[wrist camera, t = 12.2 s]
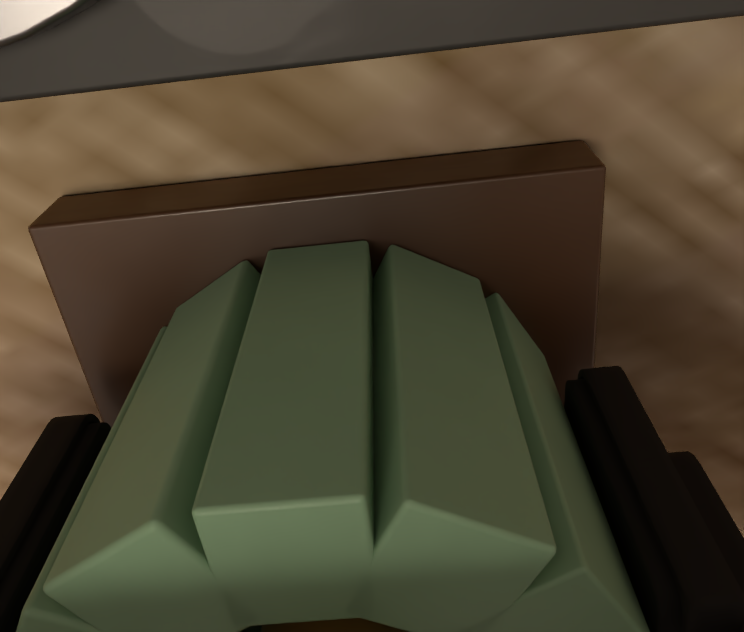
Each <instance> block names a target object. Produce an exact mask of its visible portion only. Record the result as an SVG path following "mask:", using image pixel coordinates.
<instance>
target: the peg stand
mask: <svg viewBox="0 0 744 632" xmlns="http://www.w3.org/2000/svg"><path fill="white" fill-rule="evenodd" d="M605 174H606V167H605V165H604V164H603V163H602V161H601V160H600V159H599V158H598V157H597V156H596V155H595V154H594V153H593V151H592V150H591V149H590V148H589V147H588V146H587V145H586V144H585V142H584V141H573V142H563V143H554V144H545V145H536V146H527V147H517V148H508V149H499V150H490V151H480V152H471V153H462V154H453V155H444V156H434V157H425V158H416V159H407V160H398V161H388V162H379V163H370V164H361V165H352V166H342V167H333V168H324V169H315V170H305V171H296V172H287V173H278V174H269V175H259V176H250V177H241V178H232V179H223V180H213V181H204V182H195V183H186V184H177V185H167V186H158V187H149V188H140V189H131V190H121V191H112V192H103V193H94V194H84V195H75V196H66V197H60V198H58V199H57V200H56V201H55V202H54V203H53V204H52V205H51V206H50V207H49V208H48V209H47V210H46V211H45V212H43V213H42V214H41V215H40V216H39V217H38V218H37V219H36V220H35V221H34V222H33V223H32V224H31V225H30V226H29V228H28V229H29V233H30V235H31V238H32V241H33V243H34V246H35V248H36V251H37V253H38V256H39V259H40V261H41V264H42V266H43V269H44V271H45V274H46V277H47V279H48V282H49V284H50V287H51V290H52V292H53V295H54V297H55V300H56V302H57V305H58V308H59V310H60V313H61V315H62V318H63V321H64V323H65V326H66V328H67V331H68V333H69V336H70V339H71V341H72V344H73V346H74V349H75V352H76V354H77V357H78V359H79V362H80V364H81V367H82V370H83V372H84V375H85V377H86V380H87V382H88V385H89V388H90V390H91V393H92V395H93V398H94V401H95V403H96V406H97V408H98V411H99V413H100V416H101V419H102V421H103V422H106V423H108V424H109V425H110V427H111V428H112V426H113V424H114V422H115V420H116V418H117V416H118V414H119V412H120V410H121V408H122V406H123V404H124V402H125V400H126V398H127V396H128V394H129V392H130V390H131V388H132V386H133V384H134V382H135V380H136V378H137V376H138V374H139V372H140V370H141V368H142V366H143V364H144V362H145V360H146V358H147V356H148V353H149V351H150V349H151V347H152V345H153V343H154V341H155V339H156V337H157V335H158V333H159V331H160V329H162V328H163V327H164V326H166V327H168V325H169V323H170V320H171V318H172V316H173V314H174V312H175V310H176V308H177V307H179V306H180V305H182V304H183V303H185V302H186V301H187V300H189V299H190V298H192V297H193V296H194V295H196V294H197V293H199V292H200V291H201V290H203V289H204V288H206V287H207V286H208V285H210V284H211V283H213V282H214V281H215V280H217V279H218V278H220V277H221V276H222V275H224V274H225V273H227V272H228V271H229V270H231V269H232V268H234V267H235V266H236V265H238V264H239V263H241V262H242V261H246V260H247V261H248V262H250V263H251V265H252V266H253V267H254V268H255V269H256V270H257V271H258V272H259V273H260V274H262V270H263V267H264V263H265V260H266V257H267V253H268V251H270V250H277V249H286V248H296V247H306V246H316V245H325V244H335V243H345V242H355V241H367V243H368V244H369V252H370V260H371V268H372V276H373V278H374V276H375V274H376V272H377V270H378V268H379V266H380V264H381V262H382V260H383V258H384V256H385V253H386V251H387V249H388V247H389V246H390V245H396V246H398V247H401V248H403V249H406V250H408V251H411V252H413V253H416V254H418V255H421V256H423V257H425V258H428V259H430V260H433V261H435V262H438V263H440V264H443V265H445V266H448V267H450V268H453V269H455V270H458V271H460V272H463V273H465V274H468V275H470V276H473V277H475V278H478V279H479V280H480V284H481V287H482V291H483V294H484V297H485V298H487V297H489V296H490V295H492V294H494V293H498V294H499V295H500V296H501V298H502V299H503V300H504V302H505V303H506V304H507V306H508V307H509V308H510V310H511V311H512V313H513V314H514V315H515V317H516V318H517V319H518V321H519V322H520V323H521V325H522V326H523V328H524V329H525V330H526V332H527V333H528V334H529V336H530V337H531V338H532V340H533V341H534V343H535V344H536V345H537V347H538V348H539V349H540V351H541V352H542V353H543V355H544V357H545V359H546V362H547V365H548V367H549V370H550V372H551V375H552V378H553V380H554V383H555V385H556V388H557V391H558V393H559V396H560V398H561V401H562V404H563V406H564V402H565V384H566V381H567V380H577V378H578V373H579V370H581V369H589V368H594V361H595V344H596V327H597V310H598V293H599V276H600V259H601V242H602V225H603V208H604V191H605ZM261 632H408V631H405V630H401V629H397V628H394V627H390V626H387V625H383V624H380V623H376V622H372V621H369V620H365V619H362V618H351V619H338V620H324V621H310V622H297V623H283V624H269V625H262V627H261Z"/></svg>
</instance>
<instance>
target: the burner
mask: <svg viewBox="0 0 744 632" xmlns="http://www.w3.org/2000/svg"><path fill="white" fill-rule="evenodd" d="M98 1H99V0H0V48H1V47H4V46H7V45H9V44H12V43H15V42H17V41H20V40H23V39H26V38H28V37H31V36H34V35H36V34H39V33H41V32H44V31H46V30H49V29H51V28H53V27H54V26H56V25H58V24H60V23H62V22H63V21H65V20H67V19H69V18H71V17H72V16H74V15H76V14H78V13H79V12H81V11H83V10H85V9H87V8H88V7H90V6H92V5H94V4H95V3H96V2H98Z"/></svg>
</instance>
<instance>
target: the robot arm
mask: <svg viewBox="0 0 744 632" xmlns="http://www.w3.org/2000/svg"><path fill="white" fill-rule="evenodd" d="M564 409H565V411H566V414H567V417H568V419H569V422H570V424H571V427H572V430H573V432H574V435H575V438H576V440H577V443H578V445H579V448H580V451H581V453H582V456H583V458H584V461H585V464H586V466H587V469H588V471H589V474H590V477H591V479H592V482H593V484H594V487H595V490H596V492H597V495H598V498H599V500H600V503H601V505H602V508H603V511H604V513H605V516H606V518H607V521H608V524H609V526H610V529H611V531H612V534H613V537H614V539H615V542H616V544H617V547H618V550H619V552H620V555H621V557H622V560H623V563H624V565H625V568H626V571H627V573H628V576H629V578H630V581H631V584H632V586H633V589H634V591H635V594H636V597H637V599H638V602H639V604H640V607H641V610H642V612H643V615H644V617H645V620H646V623H647V625H648V628H649V631H650V632H744V538H743V536H742V534H741V533H740V531H739V529H738V528H737V526H736V524H735V522H734V521H733V519H732V517H731V516H730V514H729V512H728V510H727V509H726V507H725V505H724V504H723V502H722V500H721V499H720V497H719V495H718V493H717V492H716V490H715V488H714V487H713V485H712V483H711V481H710V480H709V478H708V476H707V475H706V473H705V471H704V470H703V468H702V466H701V464H700V463H699V461H698V460H697V459H696V457H695V456H694V455H693V454H691V453H690V452H688V451H686V452H674V453H667V451H666V449H665V447H664V445H663V443H662V441H661V440H660V438H659V436H658V434H657V432H656V430H655V428H654V427H653V425H652V423H651V421H650V419H649V417H648V415H647V414H646V412H645V410H644V408H643V406H642V404H641V402H640V401H639V399H638V397H637V395H636V393H635V391H634V389H633V388H632V386H631V384H630V382H629V380H628V378H627V377H626V375H625V373H624V371H623V370H622V368H621V367H619V366H611V367H600V368H589V369H581V370H579V373H578V378H577V380H567V381H566V384H565V402H564ZM110 431H111V427H110V425H109V424H108V423H106V422H102V423H100V421H99V419H98V418H97V417H96V416H95V415H93V414H84V415H73V416H62V417H55V418H53V419H52V420H51V421H50V422H49V423H48V424H47V426H46V428H45V429H44V431H43V432H42V434H41V436H40V437H39V439H38V441H37V442H36V444H35V445H34V447H33V449H32V450H31V452H30V453H29V455H28V457H27V458H26V460H25V462H24V463H23V465H22V466H21V468H20V470H19V471H18V473H17V475H16V476H15V478H14V479H13V481H12V483H11V484H10V486H9V487H8V489H7V491H6V492H5V494H4V496H3V497H2V499H1V500H0V632H16V630H17V626H18V623H19V619H20V616H21V612H22V609H23V607H24V605H25V603H26V601H27V599H28V597H29V595H30V593H31V591H32V589H33V587H34V585H35V583H36V581H37V579H38V576H39V574H40V572H41V570H42V568H43V566H44V564H45V562H46V560H47V558H48V556H49V554H50V552H51V550H52V548H53V546H54V544H55V542H56V540H57V538H58V536H59V534H60V532H61V530H62V528H63V526H64V524H65V522H66V520H67V518H68V516H69V514H70V512H71V510H72V508H73V506H74V503H75V501H76V499H77V497H78V495H79V493H80V491H81V489H82V487H83V485H84V483H85V481H86V479H87V477H88V475H89V473H90V471H91V469H92V467H93V465H94V463H95V461H96V459H97V457H98V455H99V453H100V451H101V449H102V447H103V445H104V443H105V441H106V439H107V437H108V435H109V433H110Z"/></svg>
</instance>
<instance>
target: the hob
mask: <svg viewBox="0 0 744 632" xmlns="http://www.w3.org/2000/svg"><path fill="white" fill-rule="evenodd" d="M743 15H744V0H99V1H98V2H96V3H95V4H94V5H92V6H90V7H88V8H87V9H85V10H83V11H81V12H79V13H78V14H76V15H74V16H72V17H71V18H69V19H67V20H65V21H63V22H62V23H60V24H58V25H56V26H54V27H53V28H51V29H49V30H46V31H44V32H41V33H39V34H36V35H34V36H31V37H28V38H26V39H23V40H20V41H17V42H15V43H12V44H9V45H7V46H4V47H1V48H0V102H6V101H15V100H24V99H32V98H41V97H49V96H58V95H66V94H75V93H83V92H92V91H101V90H109V89H118V88H126V87H135V86H143V85H152V84H161V83H169V82H178V81H186V80H195V79H203V78H212V77H221V76H229V75H238V74H246V73H255V72H263V71H272V70H281V69H289V68H298V67H306V66H315V65H323V64H332V63H341V62H349V61H358V60H366V59H375V58H383V57H392V56H401V55H409V54H418V53H426V52H435V51H443V50H452V49H461V48H469V47H478V46H486V45H495V44H503V43H512V42H521V41H529V40H538V39H546V38H555V37H563V36H572V35H580V34H589V33H598V32H606V31H615V30H623V29H632V28H640V27H649V26H658V25H666V24H675V23H683V22H692V21H700V20H709V19H718V18H726V17H735V16H743Z"/></svg>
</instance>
